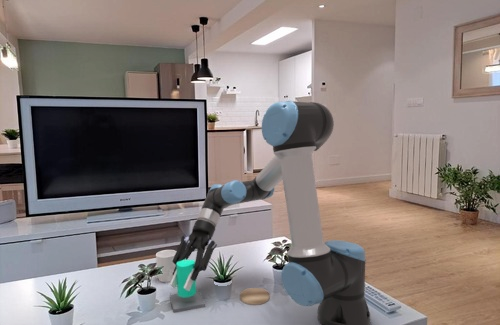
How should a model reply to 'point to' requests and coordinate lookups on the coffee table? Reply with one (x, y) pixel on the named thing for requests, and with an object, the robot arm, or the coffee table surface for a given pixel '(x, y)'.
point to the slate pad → (186, 302)
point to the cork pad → (254, 296)
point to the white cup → (166, 264)
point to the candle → (185, 277)
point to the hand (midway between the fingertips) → (179, 287)
